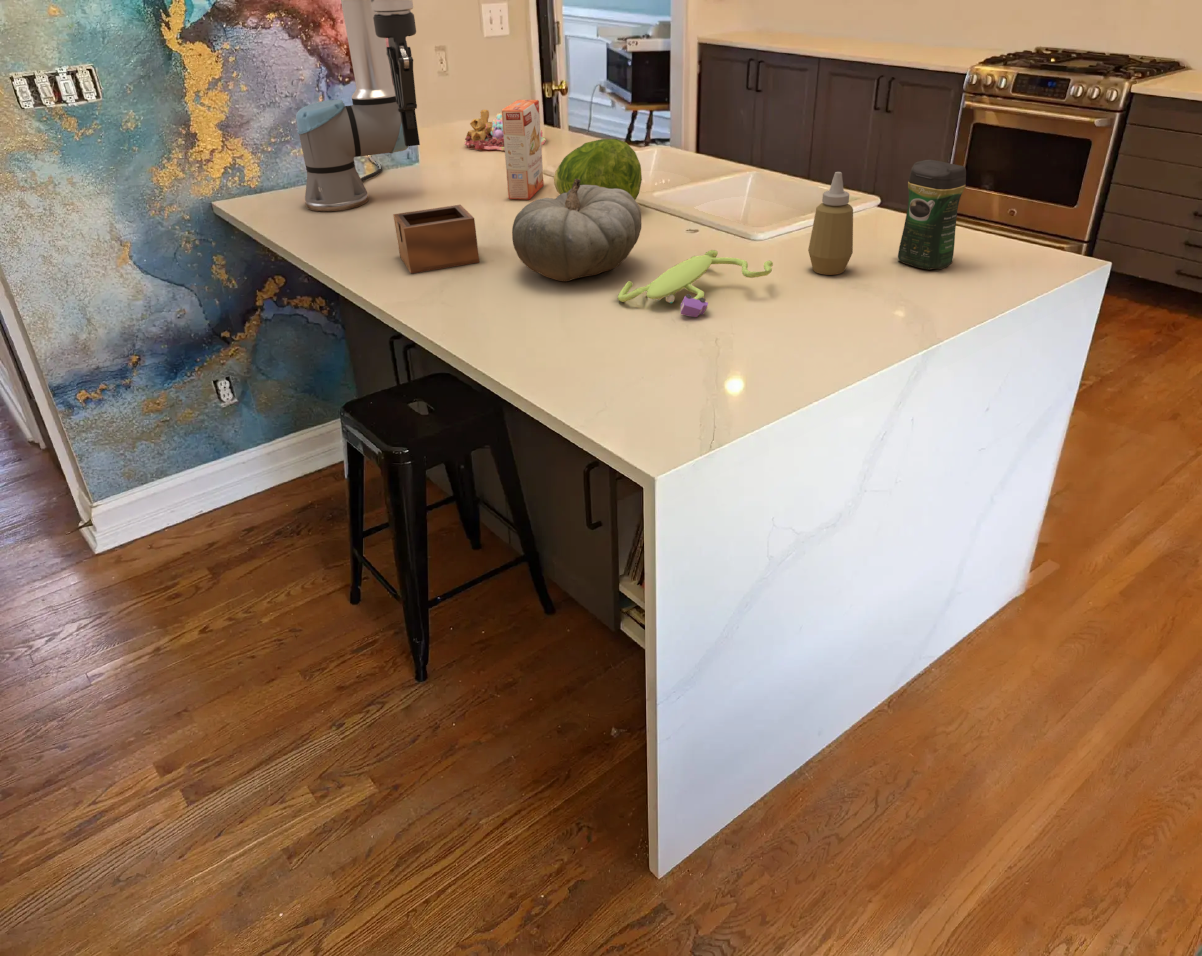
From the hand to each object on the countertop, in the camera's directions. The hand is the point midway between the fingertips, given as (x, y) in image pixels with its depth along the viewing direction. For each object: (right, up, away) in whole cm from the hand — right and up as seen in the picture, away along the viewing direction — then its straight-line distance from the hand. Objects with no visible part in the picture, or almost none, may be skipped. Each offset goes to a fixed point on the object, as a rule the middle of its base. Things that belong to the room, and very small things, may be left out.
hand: (412, 144), depth 177 cm
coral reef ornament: (+8, +37, +96) cm, 103 cm away
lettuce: (+36, -4, +31) cm, 47 cm away
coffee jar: (+99, -26, -8) cm, 103 cm away
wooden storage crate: (+2, -15, +7) cm, 17 cm away
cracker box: (+19, +5, +46) cm, 50 cm away
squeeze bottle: (+81, -28, -10) cm, 86 cm away
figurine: (+55, -33, -17) cm, 67 cm away
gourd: (+33, -26, -4) cm, 42 cm away
